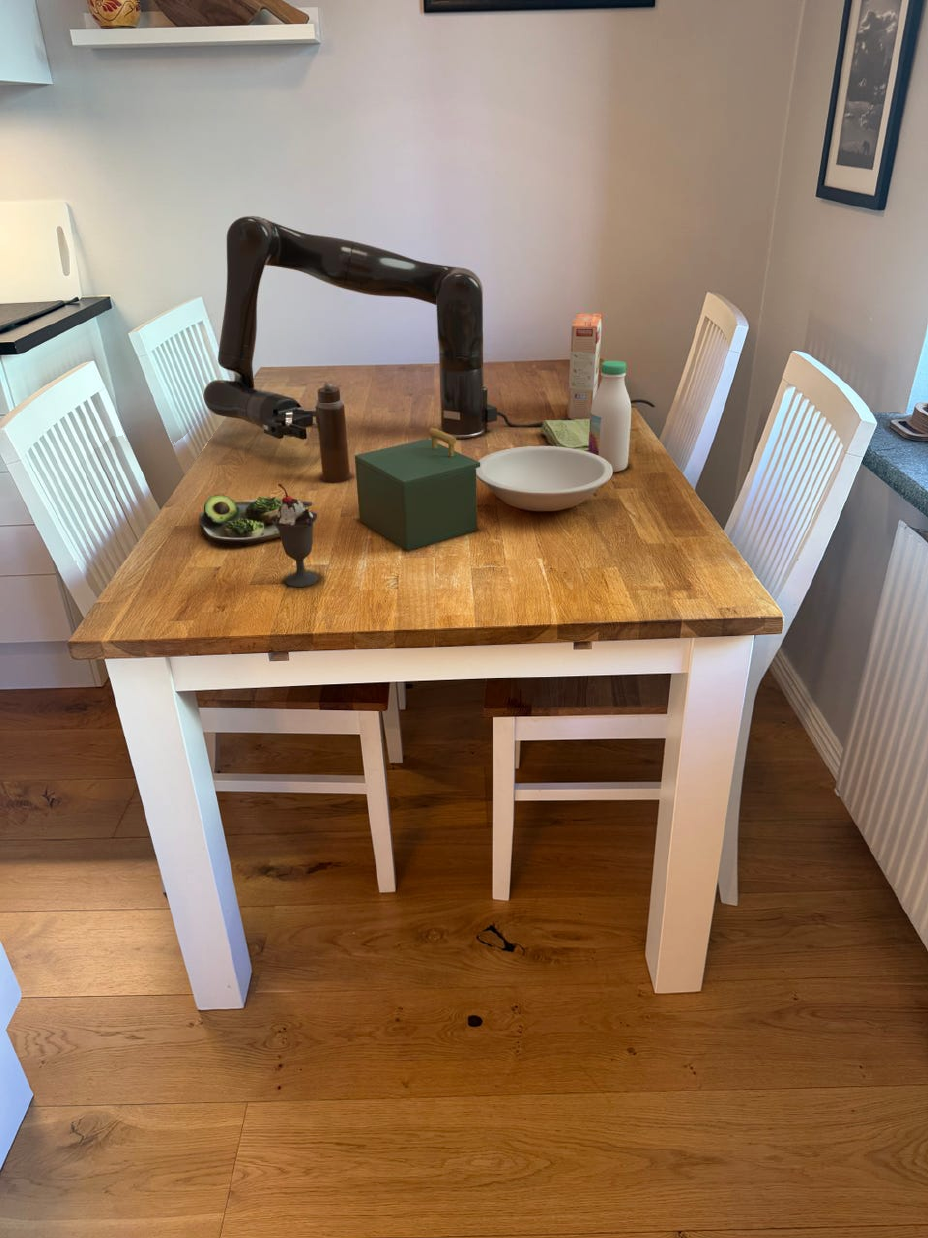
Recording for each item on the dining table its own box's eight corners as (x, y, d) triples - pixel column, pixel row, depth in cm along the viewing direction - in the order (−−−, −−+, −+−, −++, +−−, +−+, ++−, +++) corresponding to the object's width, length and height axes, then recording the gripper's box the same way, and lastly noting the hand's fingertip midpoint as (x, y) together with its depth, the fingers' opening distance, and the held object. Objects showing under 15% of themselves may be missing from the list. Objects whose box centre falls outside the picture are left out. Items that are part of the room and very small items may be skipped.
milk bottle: (630, 462, 181) (638, 359, 171) (623, 475, 175) (631, 369, 165) (592, 458, 183) (597, 356, 174) (583, 471, 177) (588, 366, 167)
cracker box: (593, 422, 204) (598, 325, 194) (566, 421, 205) (569, 324, 195) (598, 404, 216) (603, 312, 206) (572, 403, 217) (576, 311, 207)
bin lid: (427, 442, 160) (426, 418, 158) (480, 467, 148) (480, 441, 146) (354, 459, 152) (352, 435, 150) (404, 486, 141) (402, 460, 139)
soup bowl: (607, 534, 151) (609, 496, 148) (463, 525, 155) (462, 488, 152) (613, 482, 171) (615, 448, 168) (486, 476, 175) (486, 442, 172)
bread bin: (426, 502, 164) (423, 443, 159) (477, 530, 153) (476, 468, 148) (359, 520, 158) (354, 460, 152) (407, 551, 146) (404, 486, 141)
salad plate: (300, 496, 168) (298, 472, 166) (330, 532, 154) (327, 506, 151) (193, 515, 161) (188, 490, 159) (213, 554, 147) (209, 527, 144)
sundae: (280, 571, 141) (268, 478, 133) (325, 569, 141) (315, 476, 134) (276, 591, 135) (264, 495, 128) (322, 588, 135) (312, 492, 128)
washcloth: (560, 459, 183) (560, 443, 182) (538, 432, 198) (538, 418, 197) (623, 454, 185) (624, 439, 183) (596, 428, 200) (597, 414, 199)
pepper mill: (341, 471, 180) (333, 376, 171) (354, 478, 176) (347, 382, 167) (318, 476, 177) (308, 381, 168) (330, 484, 173) (321, 387, 164)
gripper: (241, 401, 178) (290, 417, 168) (301, 386, 186) (351, 401, 176) (246, 439, 181) (294, 457, 171) (305, 422, 190) (354, 439, 180)
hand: (323, 428), depth 174 cm, fingers open, 8 cm apart
